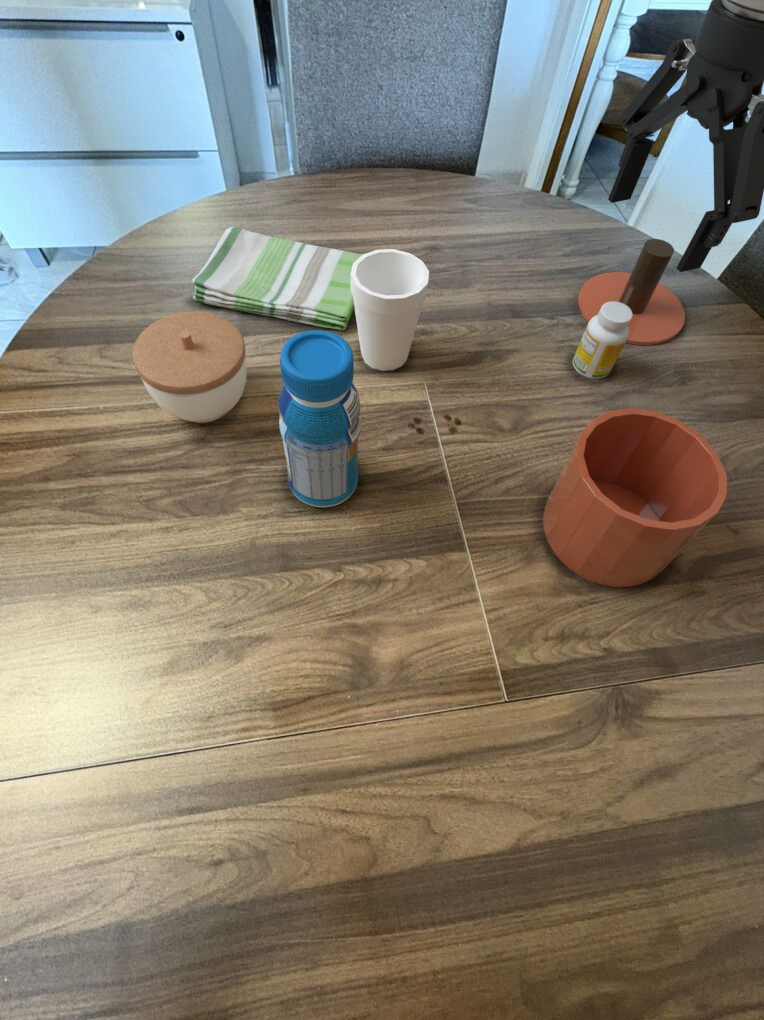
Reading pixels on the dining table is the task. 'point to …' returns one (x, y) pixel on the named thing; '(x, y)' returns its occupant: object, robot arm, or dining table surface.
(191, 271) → the dining table surface
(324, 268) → the dish towel
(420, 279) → the foam cup
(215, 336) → the lidded bowl
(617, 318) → the supplement bottle
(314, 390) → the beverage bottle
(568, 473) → the jar
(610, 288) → the lid
